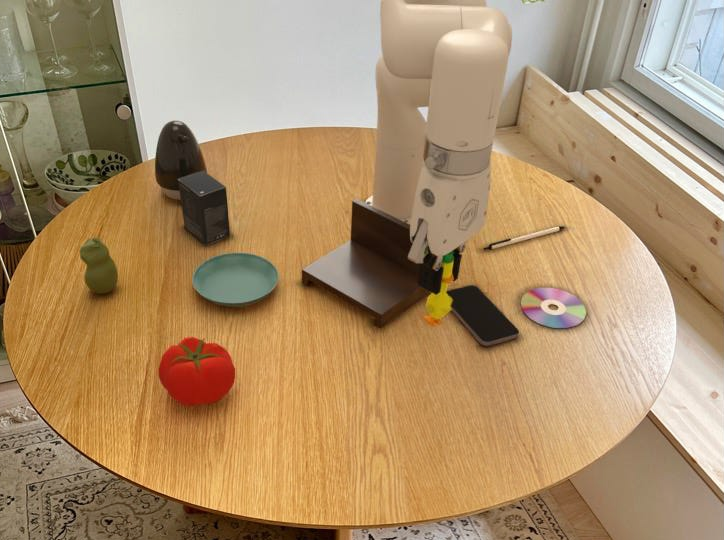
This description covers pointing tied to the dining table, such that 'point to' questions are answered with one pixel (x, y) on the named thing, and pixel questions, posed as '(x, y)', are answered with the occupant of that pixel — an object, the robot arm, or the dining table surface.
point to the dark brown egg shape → (176, 157)
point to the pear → (98, 266)
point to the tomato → (196, 372)
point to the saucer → (235, 279)
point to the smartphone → (481, 316)
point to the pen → (523, 238)
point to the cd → (564, 317)
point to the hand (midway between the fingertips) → (437, 281)
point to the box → (204, 207)
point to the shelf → (371, 266)
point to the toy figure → (441, 294)
